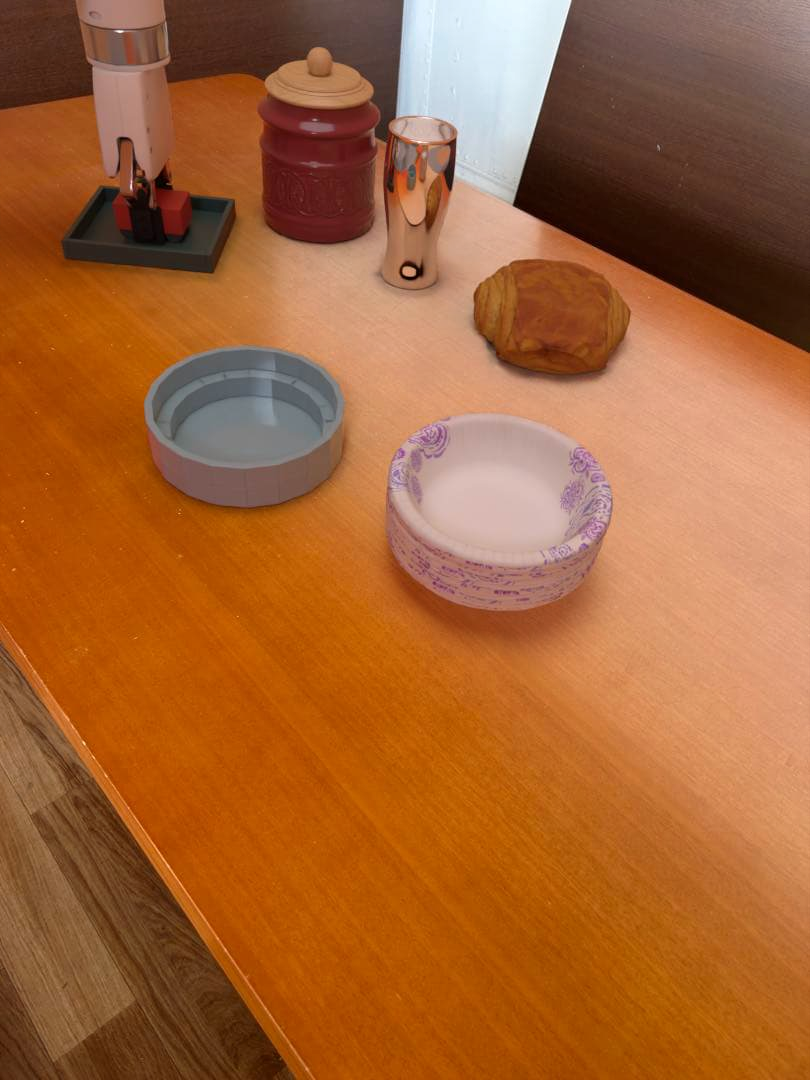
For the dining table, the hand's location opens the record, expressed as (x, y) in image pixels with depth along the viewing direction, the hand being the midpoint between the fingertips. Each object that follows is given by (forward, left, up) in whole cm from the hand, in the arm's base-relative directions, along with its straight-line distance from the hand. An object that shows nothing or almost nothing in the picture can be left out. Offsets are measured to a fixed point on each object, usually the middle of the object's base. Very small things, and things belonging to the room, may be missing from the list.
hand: (156, 229), depth 86 cm
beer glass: (+28, -3, -1) cm, 28 cm away
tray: (0, 0, -1) cm, 1 cm away
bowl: (+16, -33, -1) cm, 37 cm away
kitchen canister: (+17, +8, -1) cm, 19 cm away
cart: (0, 0, 0) cm, 0 cm away
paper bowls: (+35, -43, -1) cm, 55 cm away
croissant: (+42, -13, -1) cm, 44 cm away
